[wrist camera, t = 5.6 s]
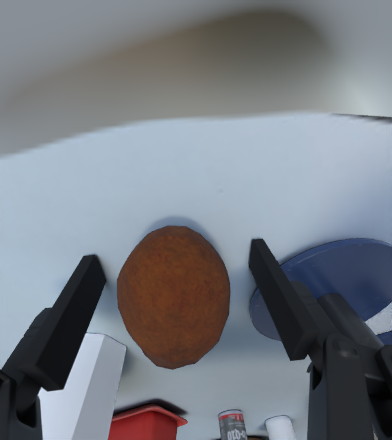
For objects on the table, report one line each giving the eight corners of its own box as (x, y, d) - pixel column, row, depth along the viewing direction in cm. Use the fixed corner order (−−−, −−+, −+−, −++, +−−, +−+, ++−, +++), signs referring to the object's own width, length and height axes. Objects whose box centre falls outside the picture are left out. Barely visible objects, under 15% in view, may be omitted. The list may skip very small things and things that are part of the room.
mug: (25, 336, 18) (-109, 541, 9) (117, 327, 18) (67, 514, 10) (72, 384, 24) (18, 532, 16) (140, 377, 25) (122, 516, 16)
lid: (429, 225, 15) (656, 335, 8) (357, 323, 22) (441, 424, 15) (256, 242, 14) (333, 377, 7) (242, 337, 21) (273, 449, 14)
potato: (126, 295, 16) (99, 394, 10) (131, 196, 11) (88, 282, 6) (205, 300, 17) (218, 391, 12) (239, 213, 13) (287, 297, 7)
